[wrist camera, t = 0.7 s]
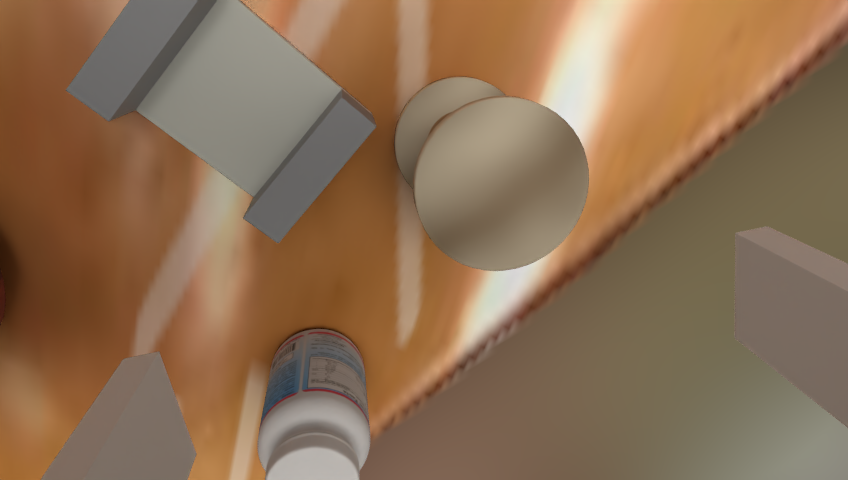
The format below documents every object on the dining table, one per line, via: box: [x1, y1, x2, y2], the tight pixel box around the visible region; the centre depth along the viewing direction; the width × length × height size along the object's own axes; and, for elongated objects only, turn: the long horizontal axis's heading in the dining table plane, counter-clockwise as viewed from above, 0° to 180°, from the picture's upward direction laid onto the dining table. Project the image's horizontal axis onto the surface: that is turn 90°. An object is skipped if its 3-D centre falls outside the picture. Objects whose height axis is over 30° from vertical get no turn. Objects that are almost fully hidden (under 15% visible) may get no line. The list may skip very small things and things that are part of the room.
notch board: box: [66, 0, 376, 243], centre depth 32 cm, size 12×8×5 cm, turn 49°
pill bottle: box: [258, 329, 370, 480], centre depth 35 cm, size 6×6×11 cm
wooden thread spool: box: [394, 76, 589, 271], centre depth 31 cm, size 8×8×11 cm
